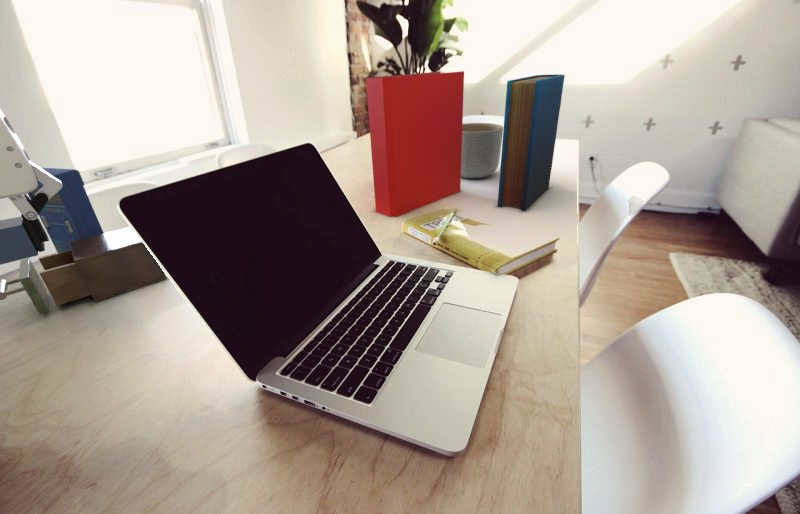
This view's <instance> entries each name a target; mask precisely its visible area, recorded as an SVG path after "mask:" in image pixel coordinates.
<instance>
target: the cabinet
mask: <svg viewBox="0 0 800 514" xmlns="http://www.w3.org/2000/svg"><path fill="white" fill-rule="evenodd" d="M130 227H131V226H127V227H123V228H119V229H115V230H111V231H107V232H104V233H103V234H99V235H95V236H91V237H87V238H83V239H79V240H75V241H71V242H70V245H71V249H72V253H73V257H74V261H75V263H76V265H77V267H78V269H79V271H80V273H81V275H82V277H83V279H84V281H85V283H86V285H87V287H88V289H89V291H90V293H91V295H90V296H91V298H92V299H93V302H94V303H98V302H101V301H104V300H107V299H111V298H113V297H116V296H119V295H122V294H125V293H128V292H131V291H134V290H137V289H141V288H143V287H146V286H150V285H153V284H155V283H159V282H161V281H164V280H167V276H166V274H164V273H165V271H164V272H163V271H162V269H161V268H160V266H159V265H158V263H157V262H156V260H155V259H154V258H153V256H152V255H151V254H150V252H149V251H148V250H147V248H146V247H145V245H144V244H143V243H142V242H141V240H140V239H139V238H138V236H137V235H136V234H135V232H134V231H133V230H132V229H131V228H130Z"/></svg>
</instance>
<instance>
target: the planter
mask: <svg viewBox="0 0 800 514" xmlns="http://www.w3.org/2000/svg"><path fill="white" fill-rule="evenodd" d="M503 129H504V125H500V124H496V123H491V122H490V123H488V122H467V123H462V154H461V178H465V179H471V180H476V179H484V178H488V177H489V176H491V175H492V174H494V173H495V172H496V170H497V169H498V167H499V165H500V161H501V153H502V142H503Z"/></svg>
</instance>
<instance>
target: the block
mask: <svg viewBox="0 0 800 514" xmlns="http://www.w3.org/2000/svg"><path fill="white" fill-rule="evenodd" d="M36 256H39V251H38V252H37V250H36V248H35V247H34V245H33V243H32V241H31V239H30V237H29V235H28V233H27V232H26V230H25V228H24V226H23V224H22V217H21V216H17V217H12V218H6V219H1V220H0V265H5V264H9V263H14V262H18V261H20V260H23V259H27V258H29V259H30V258H32V257H33V258H34V257H36Z"/></svg>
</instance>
